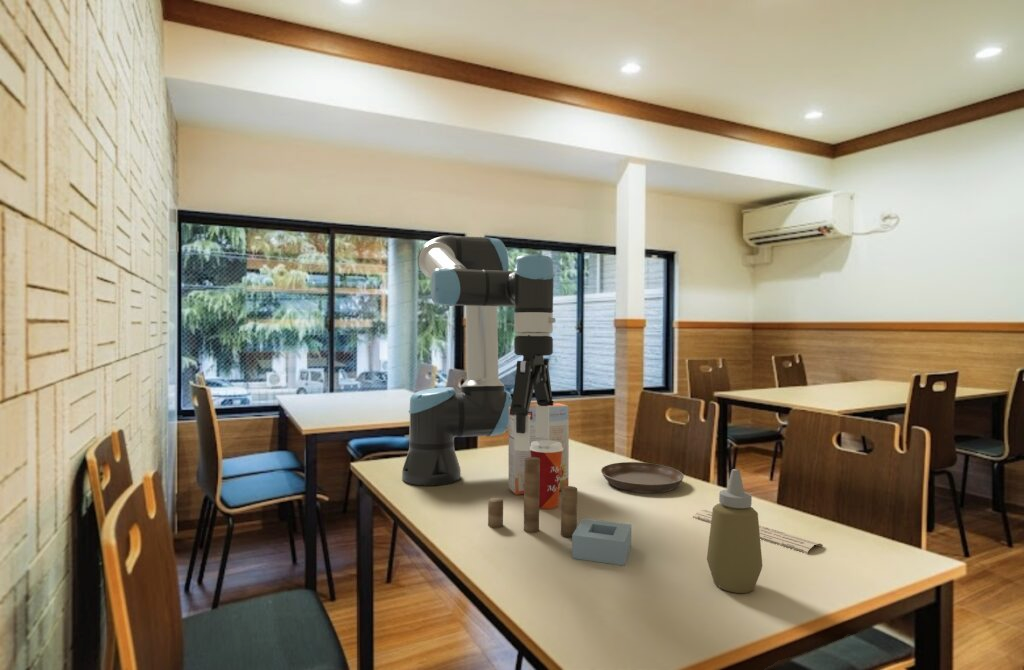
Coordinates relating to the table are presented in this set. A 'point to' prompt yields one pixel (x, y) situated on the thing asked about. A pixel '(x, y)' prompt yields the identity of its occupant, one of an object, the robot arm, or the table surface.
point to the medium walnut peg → (568, 511)
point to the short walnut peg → (495, 513)
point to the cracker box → (556, 433)
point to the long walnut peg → (531, 494)
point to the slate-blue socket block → (602, 541)
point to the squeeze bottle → (734, 539)
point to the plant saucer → (642, 477)
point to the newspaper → (770, 535)
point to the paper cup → (548, 471)
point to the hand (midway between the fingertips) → (532, 443)
